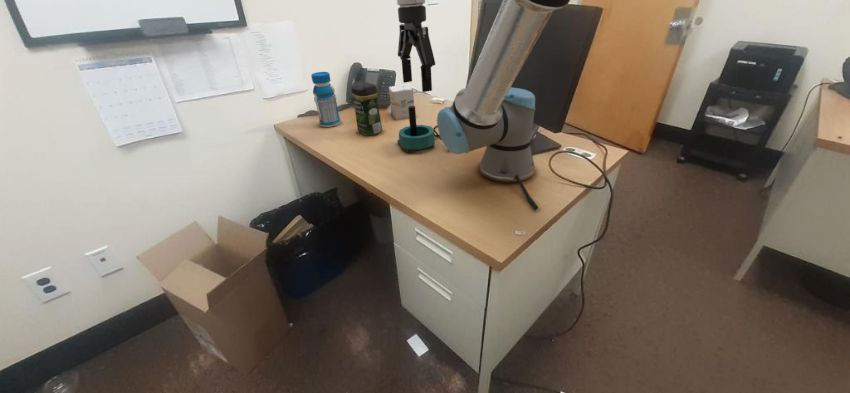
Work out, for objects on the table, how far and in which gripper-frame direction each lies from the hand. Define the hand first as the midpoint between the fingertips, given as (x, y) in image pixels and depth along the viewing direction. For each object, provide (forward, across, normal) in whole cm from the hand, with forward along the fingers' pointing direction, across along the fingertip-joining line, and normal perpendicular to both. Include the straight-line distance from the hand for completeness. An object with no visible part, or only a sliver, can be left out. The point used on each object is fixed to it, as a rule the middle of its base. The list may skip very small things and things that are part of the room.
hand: (417, 86), depth 104 cm
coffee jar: (+21, +26, +9) cm, 35 cm away
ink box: (+21, +36, -9) cm, 43 cm away
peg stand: (+21, +5, 0) cm, 22 cm away
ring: (+20, +4, 0) cm, 20 cm away
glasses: (+21, 0, -14) cm, 25 cm away
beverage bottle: (+21, +44, +20) cm, 53 cm away
